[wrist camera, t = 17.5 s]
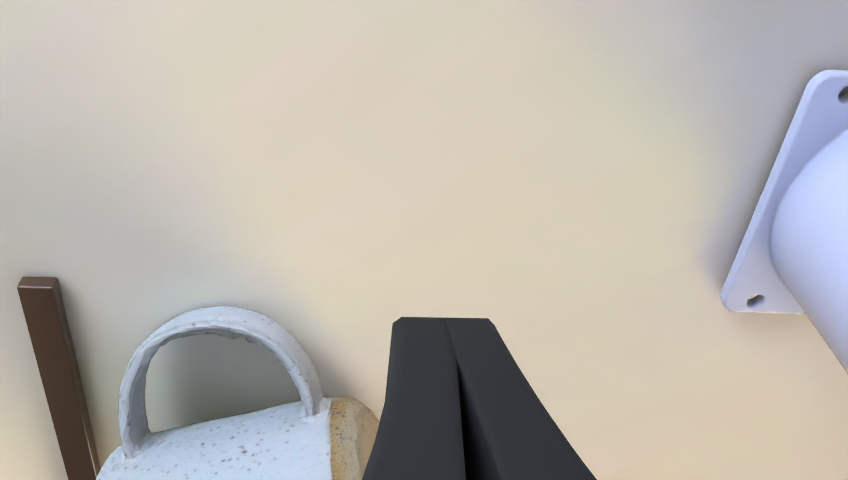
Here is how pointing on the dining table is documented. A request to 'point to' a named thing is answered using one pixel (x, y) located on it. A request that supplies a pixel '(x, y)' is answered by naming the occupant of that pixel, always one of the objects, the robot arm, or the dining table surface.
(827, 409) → the dining table surface
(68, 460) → the corner guide
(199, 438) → the ceramic mug
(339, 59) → the dining table surface
